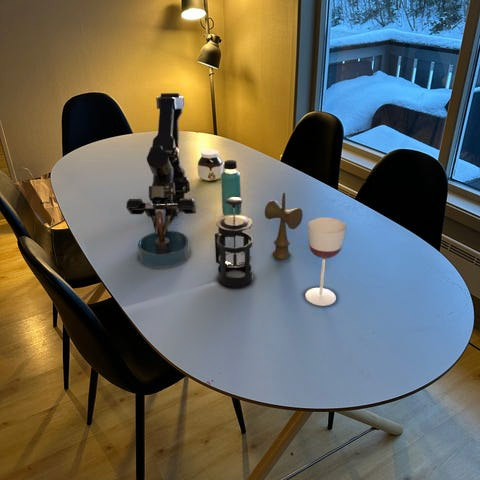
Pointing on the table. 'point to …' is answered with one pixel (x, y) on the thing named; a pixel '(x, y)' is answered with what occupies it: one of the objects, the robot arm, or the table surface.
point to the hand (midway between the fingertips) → (160, 235)
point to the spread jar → (210, 166)
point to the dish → (176, 255)
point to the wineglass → (324, 252)
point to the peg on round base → (161, 237)
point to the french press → (233, 256)
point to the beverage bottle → (230, 187)
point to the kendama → (283, 225)
